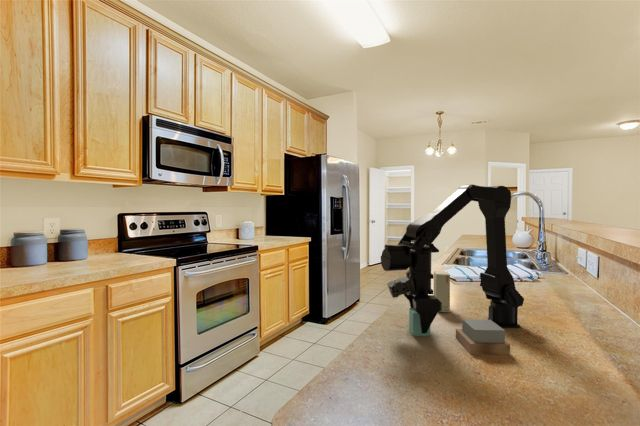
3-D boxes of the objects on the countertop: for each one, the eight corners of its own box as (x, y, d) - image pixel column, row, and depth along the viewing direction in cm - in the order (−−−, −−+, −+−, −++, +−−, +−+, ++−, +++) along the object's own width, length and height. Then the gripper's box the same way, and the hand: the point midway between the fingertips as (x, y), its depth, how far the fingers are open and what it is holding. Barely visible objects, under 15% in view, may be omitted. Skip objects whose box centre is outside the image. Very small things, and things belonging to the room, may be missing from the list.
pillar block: (425, 329, 91) (425, 308, 91) (430, 336, 87) (430, 313, 87) (409, 329, 92) (409, 307, 91) (412, 335, 87) (413, 313, 87)
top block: (490, 331, 84) (490, 319, 84) (504, 343, 77) (505, 330, 77) (462, 331, 84) (462, 319, 84) (474, 342, 77) (474, 329, 77)
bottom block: (491, 341, 85) (491, 329, 85) (509, 357, 76) (510, 344, 76) (455, 340, 85) (455, 329, 85) (470, 356, 76) (470, 343, 76)
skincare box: (450, 313, 105) (450, 274, 105) (435, 312, 106) (436, 274, 105) (446, 307, 111) (447, 270, 111) (433, 306, 112) (433, 270, 112)
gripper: (384, 262, 98) (384, 314, 99) (395, 276, 80) (395, 340, 80) (422, 262, 98) (422, 315, 98) (442, 276, 79) (442, 341, 80)
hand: (419, 326), depth 89 cm, fingers open, 9 cm apart
